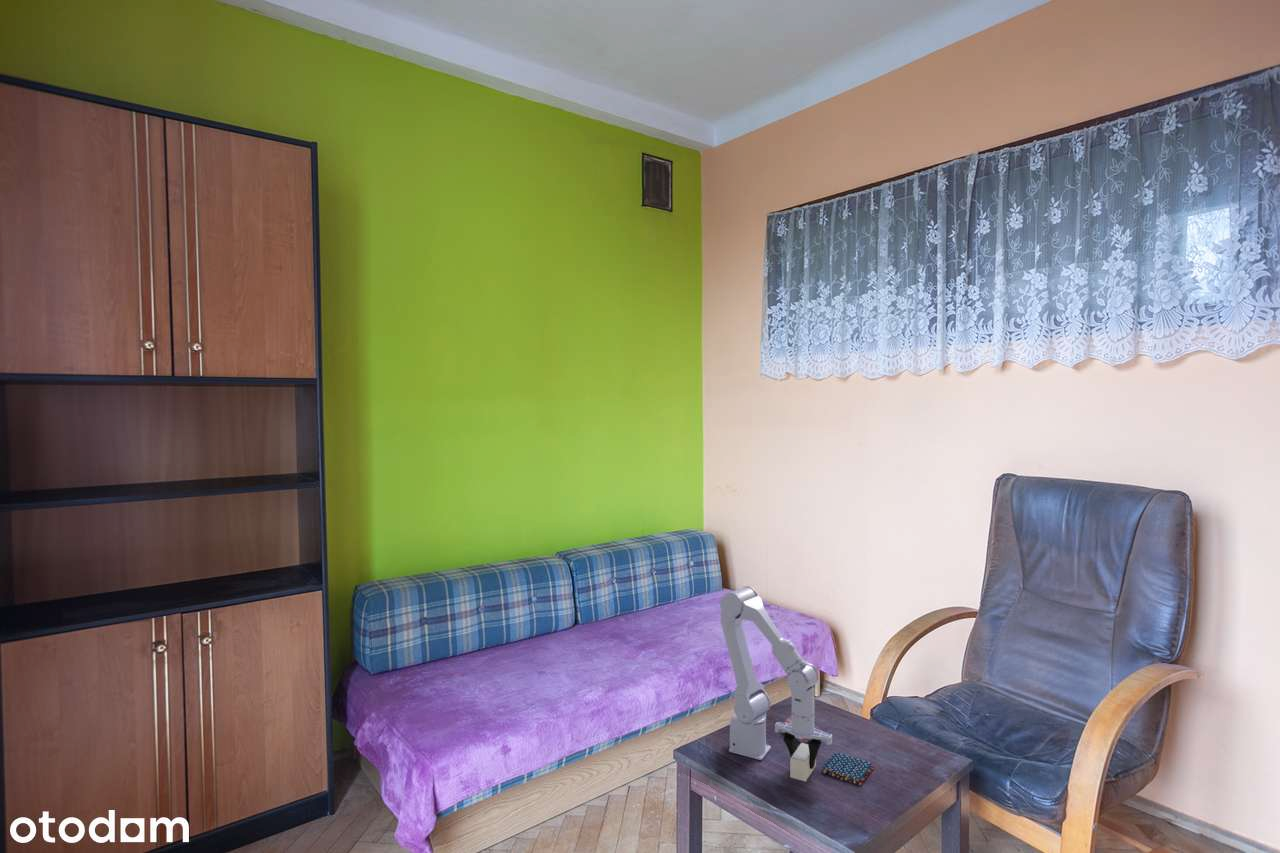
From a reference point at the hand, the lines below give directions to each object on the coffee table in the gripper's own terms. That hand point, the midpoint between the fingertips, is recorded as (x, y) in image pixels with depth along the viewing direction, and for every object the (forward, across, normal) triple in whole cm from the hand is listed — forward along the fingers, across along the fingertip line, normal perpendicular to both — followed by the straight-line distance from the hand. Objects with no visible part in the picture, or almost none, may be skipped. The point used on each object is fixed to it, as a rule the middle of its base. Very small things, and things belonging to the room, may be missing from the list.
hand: (803, 764), depth 172 cm
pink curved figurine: (0, -4, +21) cm, 22 cm away
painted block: (+2, 0, 0) cm, 2 cm away
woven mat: (+2, +10, +6) cm, 12 cm away
